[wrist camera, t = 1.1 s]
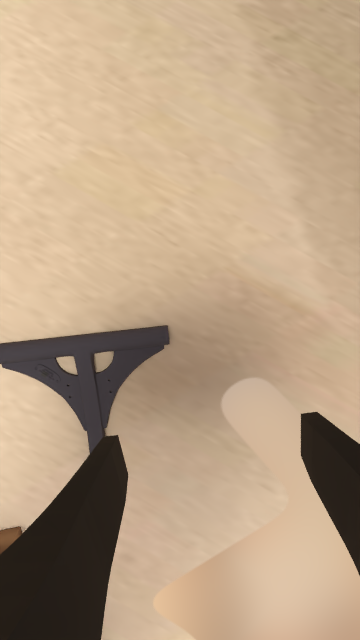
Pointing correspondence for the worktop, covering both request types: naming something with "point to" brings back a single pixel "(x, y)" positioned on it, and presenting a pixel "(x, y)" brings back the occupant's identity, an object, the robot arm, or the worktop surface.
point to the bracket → (86, 368)
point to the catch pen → (8, 537)
